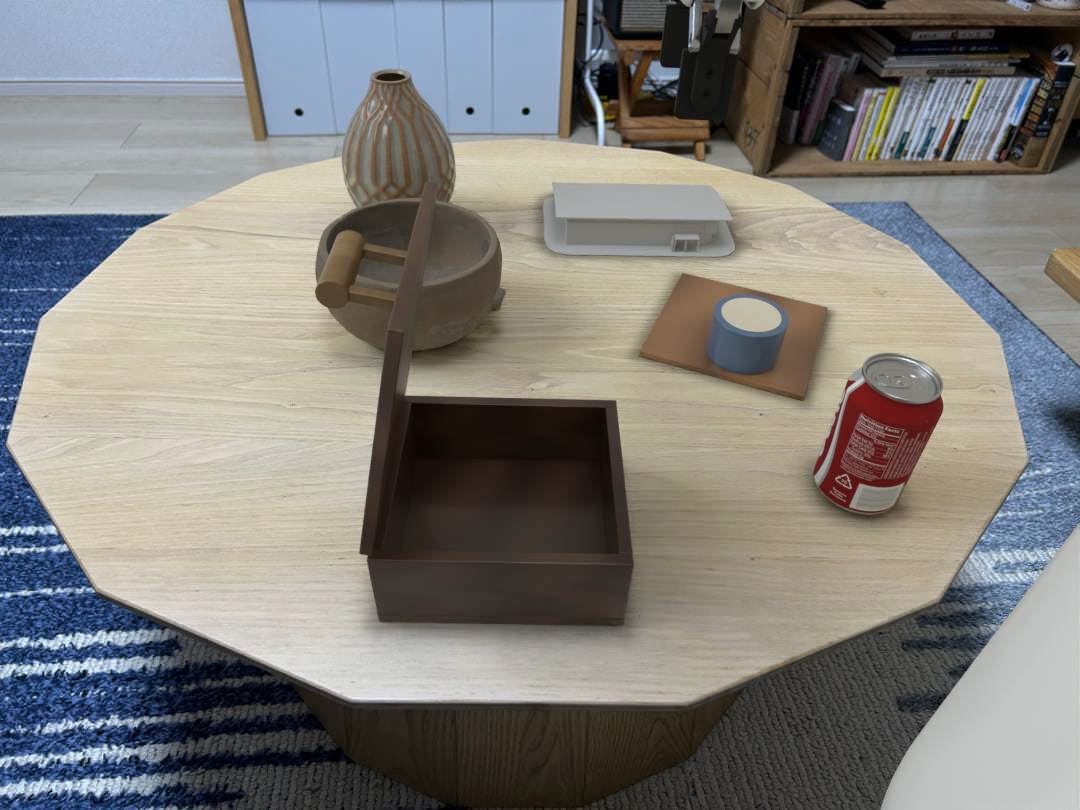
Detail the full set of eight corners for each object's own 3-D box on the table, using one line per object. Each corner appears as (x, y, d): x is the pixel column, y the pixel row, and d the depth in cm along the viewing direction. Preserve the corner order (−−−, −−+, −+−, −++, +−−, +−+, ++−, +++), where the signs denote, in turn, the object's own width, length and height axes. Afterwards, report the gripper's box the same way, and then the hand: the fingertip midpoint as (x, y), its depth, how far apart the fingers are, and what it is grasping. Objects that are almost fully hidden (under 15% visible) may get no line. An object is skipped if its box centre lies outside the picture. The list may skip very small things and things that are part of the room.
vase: (344, 203, 98) (322, 60, 86) (446, 192, 101) (437, 52, 89) (358, 255, 88) (335, 101, 77) (469, 240, 91) (463, 91, 80)
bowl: (536, 317, 80) (538, 231, 73) (411, 402, 69) (400, 311, 63) (420, 260, 88) (412, 177, 81) (292, 328, 77) (272, 240, 71)
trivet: (826, 311, 82) (827, 307, 82) (803, 401, 71) (804, 396, 71) (681, 277, 87) (682, 272, 86) (638, 355, 76) (639, 351, 75)
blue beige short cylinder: (783, 342, 77) (794, 304, 74) (770, 382, 72) (782, 344, 69) (715, 324, 79) (723, 287, 76) (698, 363, 74) (705, 324, 71)
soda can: (903, 526, 60) (964, 412, 52) (815, 514, 61) (861, 400, 53) (888, 465, 65) (941, 352, 57) (806, 454, 66) (848, 342, 58)
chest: (608, 461, 65) (616, 399, 60) (623, 626, 53) (634, 565, 48) (408, 457, 64) (401, 395, 60) (378, 621, 52) (366, 560, 48)
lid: (438, 182, 48) (354, 164, 47) (404, 332, 36) (291, 311, 35) (405, 391, 60) (338, 379, 59) (371, 556, 48) (286, 544, 47)
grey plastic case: (740, 257, 90) (747, 227, 88) (545, 254, 90) (546, 224, 87) (715, 197, 102) (721, 169, 99) (542, 194, 101) (543, 166, 98)
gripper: (860, -239, 33) (772, 145, 45) (777, -246, 46) (725, 52, 58) (688, -245, 33) (643, 140, 45) (653, -250, 46) (626, 49, 58)
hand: (689, 90), depth 51 cm, fingers open, 9 cm apart
